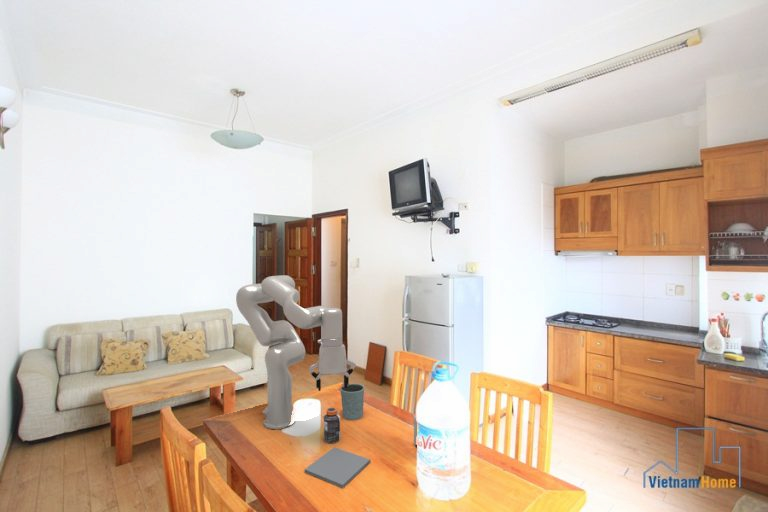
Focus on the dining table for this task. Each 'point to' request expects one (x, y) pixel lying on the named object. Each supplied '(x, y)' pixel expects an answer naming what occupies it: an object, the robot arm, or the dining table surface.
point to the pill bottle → (332, 426)
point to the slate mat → (337, 467)
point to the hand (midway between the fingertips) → (332, 388)
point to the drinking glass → (352, 401)
